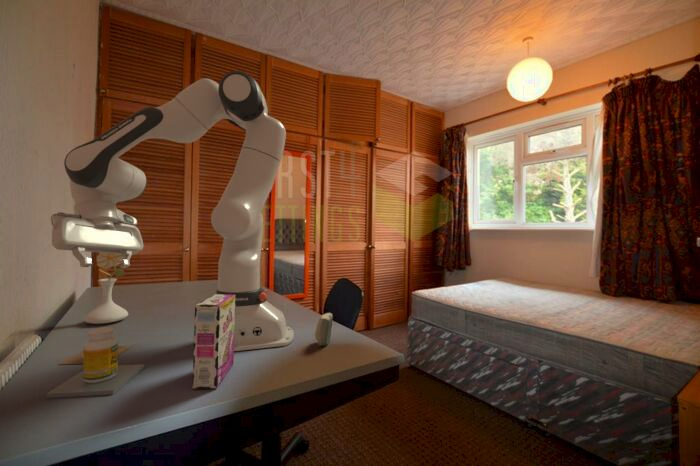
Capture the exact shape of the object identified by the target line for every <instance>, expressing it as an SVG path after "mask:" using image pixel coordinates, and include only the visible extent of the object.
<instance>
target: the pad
mask: <svg viewBox="0 0 700 466" xmlns="http://www.w3.org/2000/svg"><path fill="white" fill-rule="evenodd" d="M145 366H146V365H145V364H141V363H140V364H120V365H119V364H118V371H117V374H116V375H115V376H114V377H113V378H111V379H109V380H106V381H102V382H98V383H87V382H85V381H84V379H83V370H82V371H80V372H78V373H77V374H75V375H74V376H72V377H70V378H69V379H68V380H65V381H64V382H63V383H61V384H60V385H58V386H56V387H54V388H53V389H52V390H50V391H48V392H47V393H46V394H45V395H46V397H45V398H46V399H55V398H56V399H57V398H58V399H59V398H72V397H73V398H75V397H88V396H89V397H90V396H91V397H92V396H94V397H95V396H108V395H109V396H111V395H115V394H116V393H117V392H118V391H119V390H120V389H122V388H123V387H124V386H126V384H128V383H129V382H130V381H131V380H132V379H133V378H135V377H136V376H137V375H138V374H139V373H140V372H142V371H143V370H144V369H145Z"/></svg>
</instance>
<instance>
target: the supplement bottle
mask: <svg viewBox="0 0 700 466" xmlns="http://www.w3.org/2000/svg"><path fill="white" fill-rule="evenodd" d="M114 335H115V328H114V327H112V326H103V327H97V328H93V329H91V330H89V331H88V333H87V339H88V341H86V342H85V343H84V344H83V345H84V346H83V351H84V364H82V365H83V366H82V367H83V368H82V369H83V370H82V371H83V379H84V381H85V382H87V383H98V382H102V381H106V380H109V379H111V378H113V377H114V376H115V375H116V374H117V371H118V365H119V363H118V362H119V359H118V357H119V356H118V346H119V345H118V344H119V342H118V341H119V340H118V338H116V337H115V336H114Z"/></svg>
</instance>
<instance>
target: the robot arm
mask: <svg viewBox="0 0 700 466" xmlns="http://www.w3.org/2000/svg"><path fill="white" fill-rule="evenodd" d="M265 98H266V97H265V96H264V94H263V92H262V90H261V87H260V85H259V83H258V82H257V81H256V80H255V79H254V78H253V77H252V75H249V74H248V73H247V72H244V71H241V70H234V71H230V72H227V73H226V74H224V75H223V76H222V77H221V79H220V80H219V82H218V83H217V82H216V81H214V80H213V79H210V78H205V77H203V78H199V79H198V80H197V81H195V82H193V83H191V84H190V85H188V86H187V87H186V88H184V89H183V90H181V91H180V92H179V93H178V94H176V96H175V97H173V98H172V99H171V100H170V101H168V102H166V103H164V104H162V105H160V106H156V107H151V106H147V107H144V108H142V109H140V110H138V111H136V112H135V113H133V114H131V115H130V116H128V117H126V118H125V119H123V120H122V121H120V122H118V123H117V124H116V125H114V126H112V127H111V128H109V129H107V130H106V131H105V132H103V133H102V134H100V135H99V136H97V137H95V138H94V139H92V140H90V141H87V142H85V143H83V144H80V145H78V146H76V147H75V148H73V149H71V150H70V151H69V152H68V153H67V154H66V156H65V158H64V170H65V172H66V174H67V176H68V178H69V188H70V194H71V198H72V199H73V201H74V207H73V212H74V214H73V213H66V212H63V211H61V212H60V211H59V212H56V213H53V214H52V215H51V216H50V224H51V226H52V230H51V244H52V246H53V247H54V248H55V249H56V250H58V251H59V250H61V251H72V252H71V253H72V255H73V256H74V257H75V258H76V260H77V261H79V266H80V267H81V268H89V267H90V266H92V265H93V262H92V261H93V260H92V257H91V258H90V257H88V256H87V255H86V254H85V253H84V252H88V253H89V252H91V253H99V252H103V253H119V254H121V256H122V257H124V258H123V260H122V261H120V262H119V264H118V265H119V267H120V268H119V269H121V268H124V269H126V268H127V269H128V268H129V267H130V266H131V264H130V260H131V257H132V255H136V254H138V253H140V252H142V251H143V249H144V242H143V238H142V234H141V232H140V230H139V228H138V227H137V225H138V220H137V218H136V217H134V216H131V215H129V214H127V213H125V212H123V211H122V210H121V209H118V208H117V205H116V204H118V203H123V202H128V201H131V200H134V199H137V198H138V197H140V196H141V195H143V193H144V192H145V191H146V189H147V186H148V185H147V184H148V181H147V180H148V179H147V178H148V177H147V175H146V173H145V172H144V171H143V170H142V169H140V168H139V167H137V166H136V165H133V164H131V163H129V162H127V161H125V160H123V159H120V158H119V157H120V156H122V155H124V154H125V153H126V152H128V151H130V150H131V149H133V148H135V146H137V145H138V144H140V143H141V142H143V141H145V140H149V139H162V140H166V141H171V142H174V143H181V144H191V143H194V142H195V141H197V140H199V139H201V138H202V137H203V136H204V135H205V134H206V133H207V132H208V131H209V130H210V129H211V128H212V127H213V126H214V125H215V124H217V123H218V122H219V121H221V120H227V121H228V123H230V124H232V125H234V126H235V127H237V128H239V129H241V130H242V131H245V137H244V140H243V144H242V146H241V148H240V149H241V150H240V153H239V155H238V158H237V161H236V165H235V167H234V171H233V173H232V176H231V177H230V180H229V182H228V184H227V185H226V187H225V189H224V191H223V193H222V195H221V197H220V199H219V202H218V204H216V206H215V207H214V208H213V210H212V212H211V216H210V223H211V226H212V228H213V230H214V231H215V232H216V234H218V235H219V236H220V237H222V238H223V241H222V248H221V253H220V256H219V260H218V271H217V272H218V273H217V277H218V278H217V289H216V292H215V294H233V295H236V296H235V325H234V352H238V351H239V352H240V351H246V350H247V351H248V350H257V349H265V348H266V349H267V348H269V349H270V348H274V347H275V348H276V347H277V348H278V347H285V346H288V345H289V344H291V343H292V341H293V340H294V337H295V335H294V334H295V333H294V330H293V328H291V327H289V326H287V322H286V318H285V315H284V313H283V311H282V310H280V309H278V308H277V307H275V306H274V304H273V305H272V304H271V303H270V302H268V301H267V299H268V298H267V297H268V292H267V289H263V288H262V287H260V282H261V280H260V279H261V276H260V275H261V255H262V246H263V245H262V244H263V237H264V236H263V234H264V216H263V213H262V211H263V209H264V206H265V204H266V201H267V199H268V197H269V194H270V193H271V191H272V189H273V187H274V183H275V180H276V177H277V174H278V170H279V168H280V165H281V163H282V159H283V154H284V150H285V145H286V139H287V131H286V128H285V126H284V125H283V123H282V122H281V121H280V120H278V119H276V118H275V117H272V116H270V111H269V108H268V105H267V102H266V101H267V100H266V99H265Z"/></svg>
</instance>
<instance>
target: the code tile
mask: <svg viewBox="0 0 700 466" xmlns="http://www.w3.org/2000/svg"><path fill="white" fill-rule="evenodd" d="M130 348H133V345H118V357H119V356H120V355H122V354H123V353H125V352H126V351H127V350H128V351H129V350H130ZM65 365H84V350H82V351H80V352H79V353H76V354H75V355H73V356H71V357H69V358H67V359H65V360H63V361H62V362H59V363H58V366H65Z"/></svg>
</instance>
